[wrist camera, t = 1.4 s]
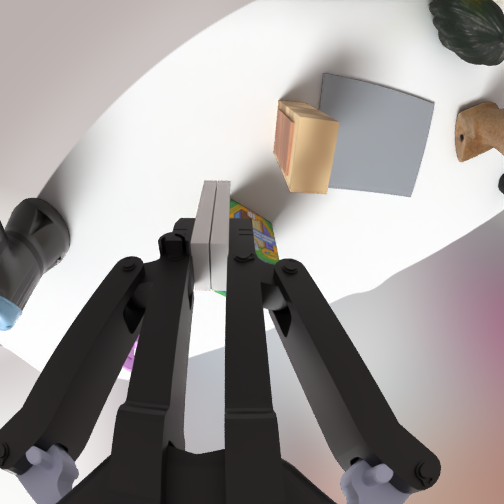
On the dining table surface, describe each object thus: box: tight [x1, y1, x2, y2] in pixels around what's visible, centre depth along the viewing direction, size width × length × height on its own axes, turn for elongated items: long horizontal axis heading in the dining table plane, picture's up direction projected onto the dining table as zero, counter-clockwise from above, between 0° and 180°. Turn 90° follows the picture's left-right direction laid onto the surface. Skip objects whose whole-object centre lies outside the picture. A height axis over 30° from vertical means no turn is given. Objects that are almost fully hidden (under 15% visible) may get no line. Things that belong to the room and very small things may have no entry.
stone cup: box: [455, 102, 504, 162], centre depth 29 cm, size 15×12×15 cm
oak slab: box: [274, 100, 340, 194], centre depth 32 cm, size 4×8×14 cm, turn 176°
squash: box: [429, 0, 504, 66], centre depth 19 cm, size 14×15×15 cm
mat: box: [319, 73, 434, 197], centre depth 38 cm, size 20×18×1 cm
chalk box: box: [211, 199, 279, 296], centre depth 42 cm, size 9×9×15 cm
